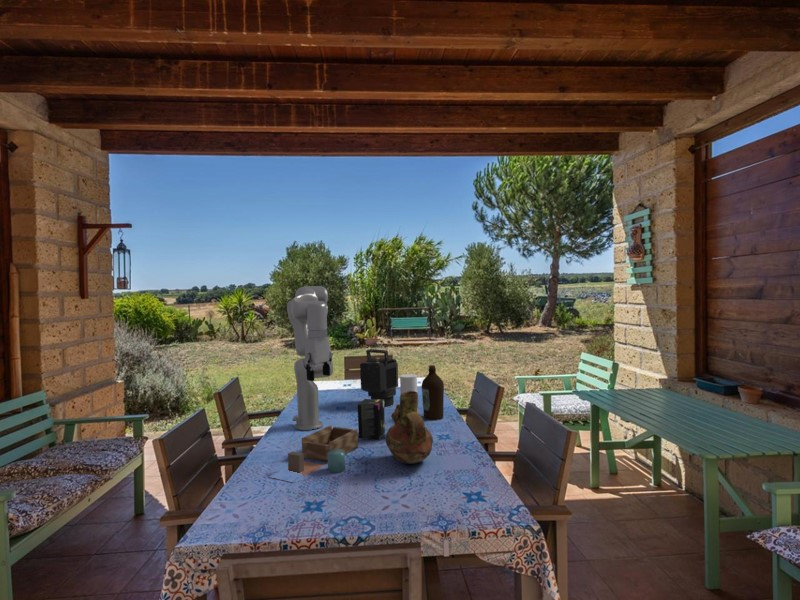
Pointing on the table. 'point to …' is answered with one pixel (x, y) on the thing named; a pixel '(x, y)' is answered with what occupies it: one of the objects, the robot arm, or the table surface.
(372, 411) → the tampon box
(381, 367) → the lantern
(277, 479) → the table surface
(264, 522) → the table surface
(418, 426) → the ceramic vessel
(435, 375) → the dark brown bottle
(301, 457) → the brown piece
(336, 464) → the teal rounded piece
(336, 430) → the box
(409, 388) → the cylindrical container
